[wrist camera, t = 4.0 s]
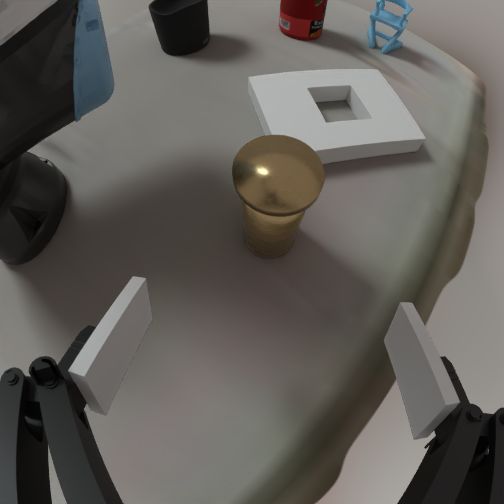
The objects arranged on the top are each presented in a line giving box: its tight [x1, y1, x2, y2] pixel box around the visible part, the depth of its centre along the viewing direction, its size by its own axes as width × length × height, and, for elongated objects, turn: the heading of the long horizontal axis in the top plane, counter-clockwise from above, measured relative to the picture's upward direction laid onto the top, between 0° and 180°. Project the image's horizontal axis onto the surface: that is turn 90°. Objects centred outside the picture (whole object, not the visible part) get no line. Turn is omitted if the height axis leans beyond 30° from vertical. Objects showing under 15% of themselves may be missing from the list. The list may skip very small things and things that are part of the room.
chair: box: [368, 0, 413, 54], centre depth 36 cm, size 8×8×12 cm
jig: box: [248, 69, 426, 164], centre depth 33 cm, size 20×14×3 cm
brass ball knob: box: [232, 135, 325, 259], centre depth 24 cm, size 6×6×12 cm
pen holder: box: [149, 0, 210, 55], centre depth 36 cm, size 9×9×10 cm
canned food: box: [279, 0, 327, 40], centre depth 37 cm, size 8×8×11 cm
